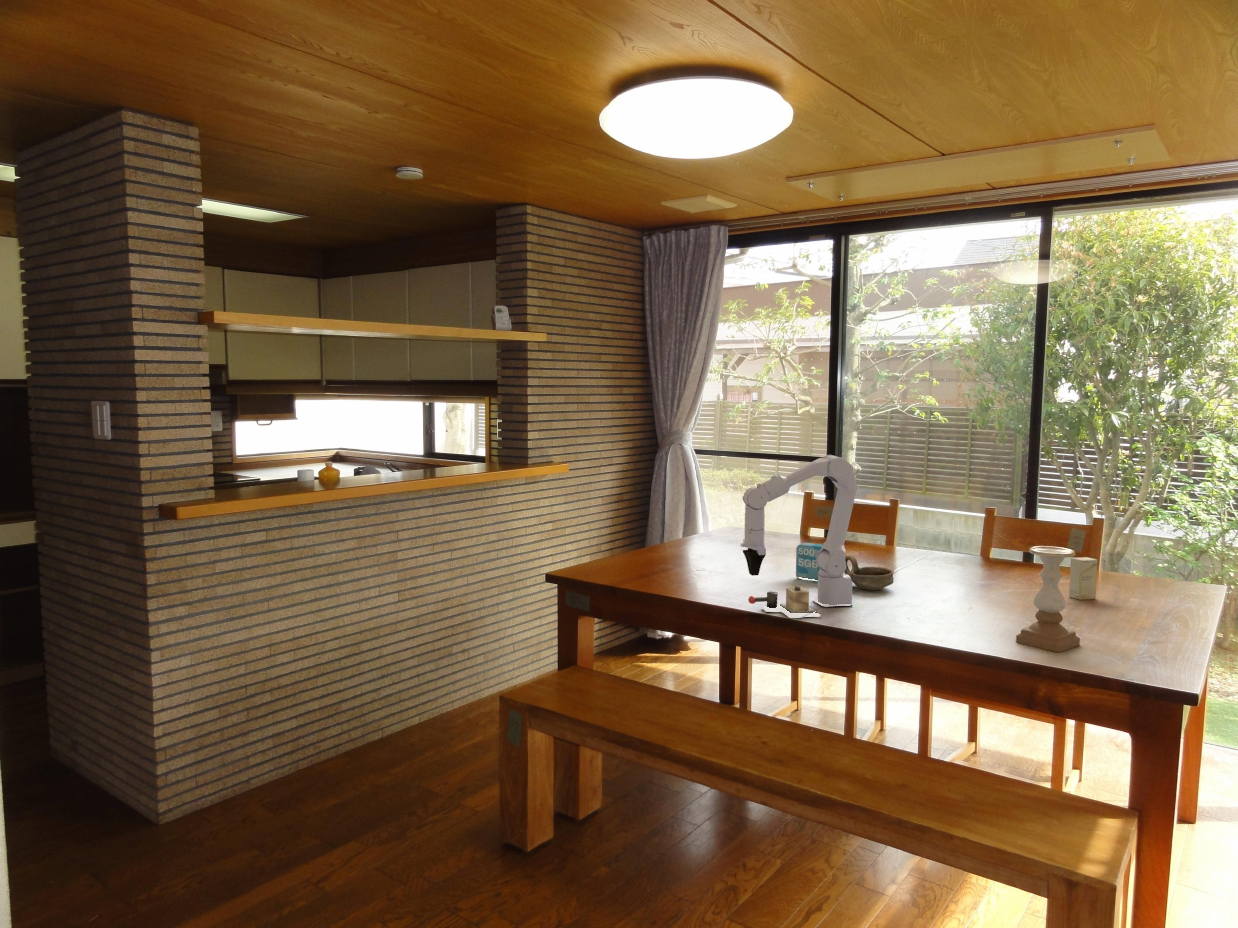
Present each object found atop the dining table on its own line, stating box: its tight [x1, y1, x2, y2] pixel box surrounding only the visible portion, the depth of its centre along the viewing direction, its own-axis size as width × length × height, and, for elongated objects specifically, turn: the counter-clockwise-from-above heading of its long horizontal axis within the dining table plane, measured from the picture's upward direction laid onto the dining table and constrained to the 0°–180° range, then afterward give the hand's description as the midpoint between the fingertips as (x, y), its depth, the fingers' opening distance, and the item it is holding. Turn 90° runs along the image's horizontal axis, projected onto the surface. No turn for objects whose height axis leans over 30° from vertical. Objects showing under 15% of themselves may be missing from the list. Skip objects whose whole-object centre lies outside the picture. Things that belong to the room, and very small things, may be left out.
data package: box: [795, 542, 823, 580], centre depth 275 cm, size 12×4×12 cm, turn 55°
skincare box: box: [1068, 556, 1098, 601], centre depth 252 cm, size 6×4×12 cm
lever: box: [747, 591, 778, 608], centre depth 237 cm, size 9×3×4 cm, turn 100°
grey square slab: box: [780, 603, 821, 614], centre depth 236 cm, size 13×12×2 cm
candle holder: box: [1015, 545, 1081, 654], centre depth 206 cm, size 11×11×24 cm
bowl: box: [843, 554, 895, 591], centre depth 265 cm, size 14×18×10 cm
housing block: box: [785, 585, 810, 610], centre depth 236 cm, size 5×6×6 cm
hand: (753, 574), depth 243 cm, fingers closed
